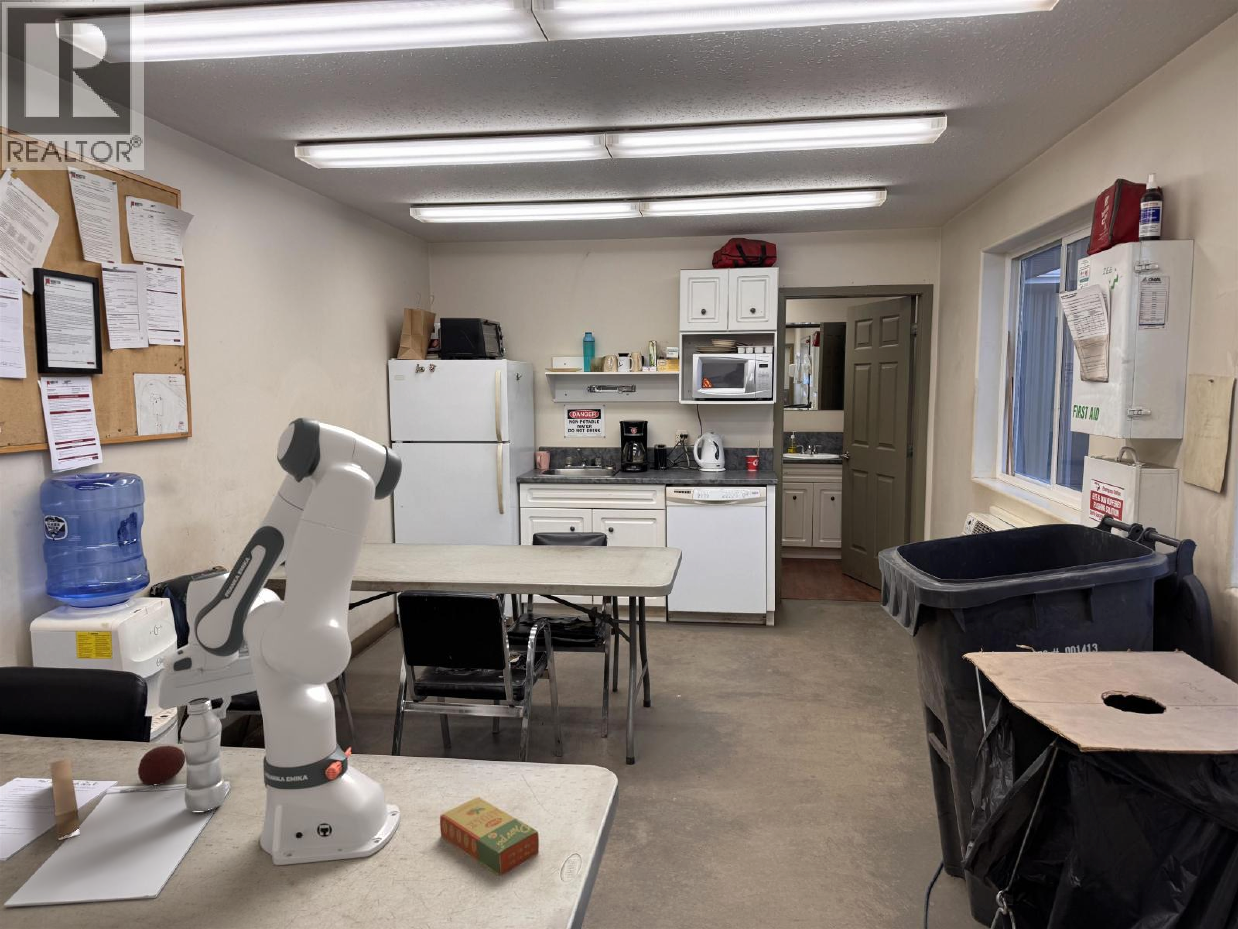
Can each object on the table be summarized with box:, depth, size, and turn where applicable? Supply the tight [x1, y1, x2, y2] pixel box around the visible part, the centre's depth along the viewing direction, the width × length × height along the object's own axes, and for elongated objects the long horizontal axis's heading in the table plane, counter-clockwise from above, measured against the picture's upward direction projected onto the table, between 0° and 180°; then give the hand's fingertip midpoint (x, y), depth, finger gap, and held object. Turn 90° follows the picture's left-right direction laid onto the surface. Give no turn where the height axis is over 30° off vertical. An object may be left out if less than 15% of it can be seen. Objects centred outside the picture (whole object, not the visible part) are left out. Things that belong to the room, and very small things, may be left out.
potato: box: [137, 745, 186, 786], centre depth 147 cm, size 7×8×7 cm
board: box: [50, 758, 81, 839], centre depth 138 cm, size 3×24×4 cm, turn 39°
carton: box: [439, 796, 540, 877], centre depth 124 cm, size 8×16×4 cm, turn 47°
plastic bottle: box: [180, 697, 227, 812], centre depth 136 cm, size 6×7×20 cm
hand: (217, 718), depth 153 cm, fingers closed
